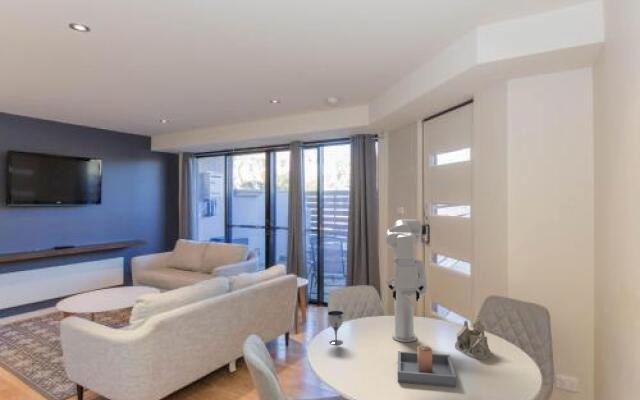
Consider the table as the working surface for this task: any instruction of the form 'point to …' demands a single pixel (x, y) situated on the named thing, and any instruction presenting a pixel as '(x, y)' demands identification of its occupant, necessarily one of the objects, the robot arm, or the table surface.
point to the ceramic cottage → (473, 341)
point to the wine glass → (335, 324)
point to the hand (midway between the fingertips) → (406, 299)
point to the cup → (424, 359)
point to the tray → (439, 376)
